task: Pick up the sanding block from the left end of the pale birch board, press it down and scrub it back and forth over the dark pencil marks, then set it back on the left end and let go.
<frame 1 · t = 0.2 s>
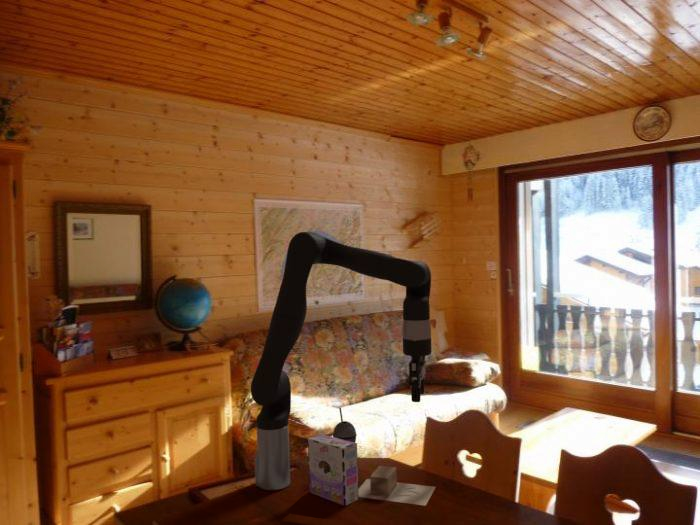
hand: (418, 397, 145), 28 cm above the table, tool pointing down, fingers open, 8 cm apart
board: (394, 496, 149), on the table
candy box: (333, 501, 148), on the table
sanding block: (384, 490, 150), point 1 cm above the table, touching board
beverage cup: (345, 473, 167), on the table
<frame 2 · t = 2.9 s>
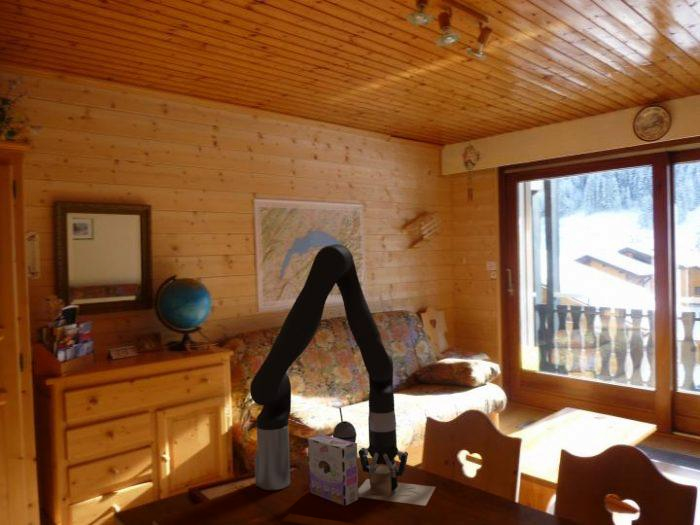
hand: (384, 488, 150), 2 cm above the table, tool pointing down, fingers closed on sanding block, 5 cm apart
sanding block: (384, 490, 150), point 2 cm above the table, touching board, gripper
everything else where it was.
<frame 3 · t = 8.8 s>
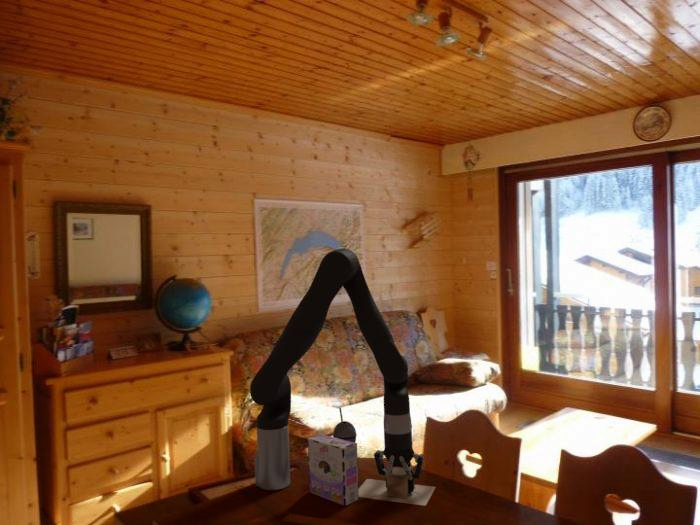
hand: (400, 491, 149), 2 cm above the table, tool pointing down, fingers closed on sanding block, 5 cm apart
sanding block: (400, 492, 149), point 2 cm above the table, touching gripper
everything else where it was.
when the fingers open (3 cm above the table, at t = 14.5 s): sanding block drops 1 cm, resting on board.
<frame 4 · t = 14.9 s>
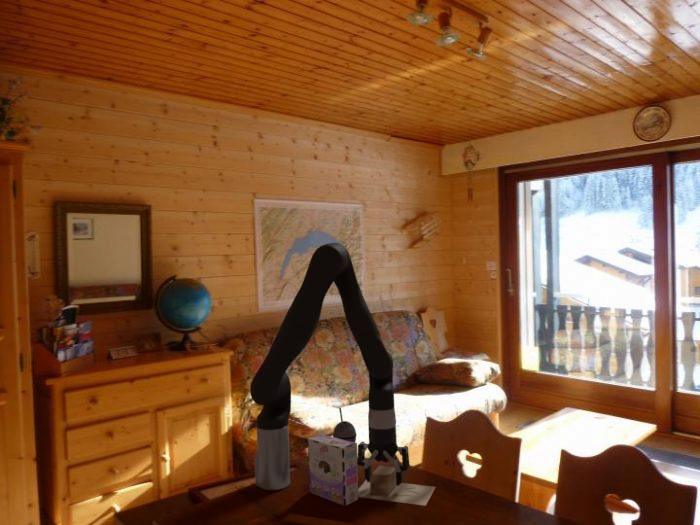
hand: (383, 482, 150), 3 cm above the table, tool pointing down, fingers open, 8 cm apart
sanding block: (383, 490, 150), point 1 cm above the table, touching board
everything else where it was.
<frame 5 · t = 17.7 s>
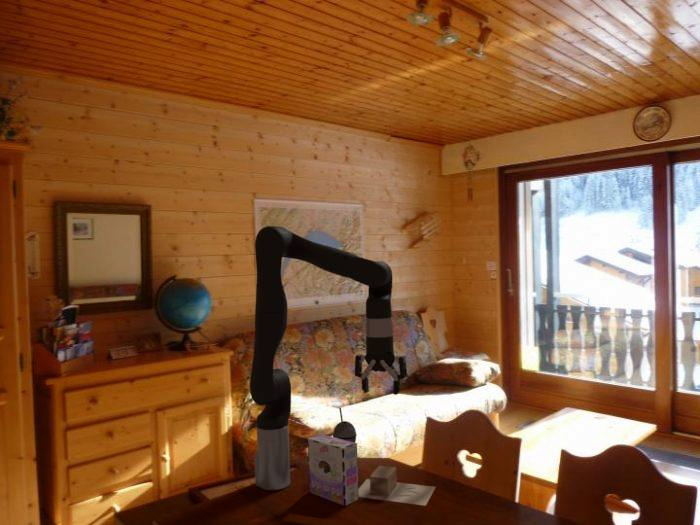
hand: (381, 393, 150), 28 cm above the table, tool pointing down, fingers open, 8 cm apart
nothing on the table moved.
at the end: sanding block 0.9 cm from the target spot on the board, point 1.5 cm above the board's base; the gripper is holding nothing; sanding block tilted 0° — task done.
